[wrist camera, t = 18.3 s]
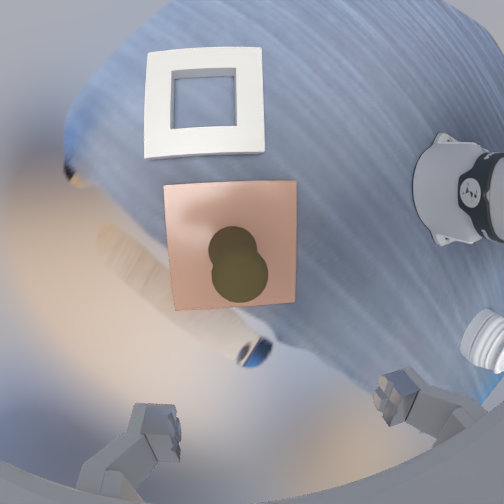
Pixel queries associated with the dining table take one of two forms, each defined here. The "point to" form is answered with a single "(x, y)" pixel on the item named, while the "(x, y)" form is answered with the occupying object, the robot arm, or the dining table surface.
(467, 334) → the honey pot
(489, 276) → the dining table surface
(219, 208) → the terracotta tile
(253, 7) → the dining table surface
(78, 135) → the dining table surface
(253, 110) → the frame
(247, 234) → the olive pawn
